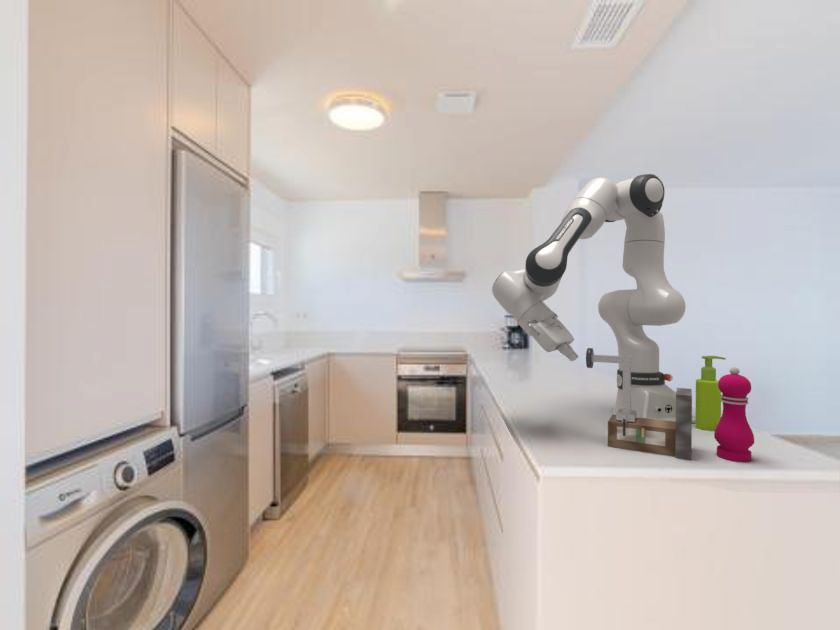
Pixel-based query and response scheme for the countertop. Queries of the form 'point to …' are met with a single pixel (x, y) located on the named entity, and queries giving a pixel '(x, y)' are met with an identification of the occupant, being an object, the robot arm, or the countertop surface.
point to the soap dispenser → (708, 397)
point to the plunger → (625, 412)
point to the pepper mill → (734, 418)
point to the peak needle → (642, 432)
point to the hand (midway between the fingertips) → (575, 359)
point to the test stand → (657, 431)
